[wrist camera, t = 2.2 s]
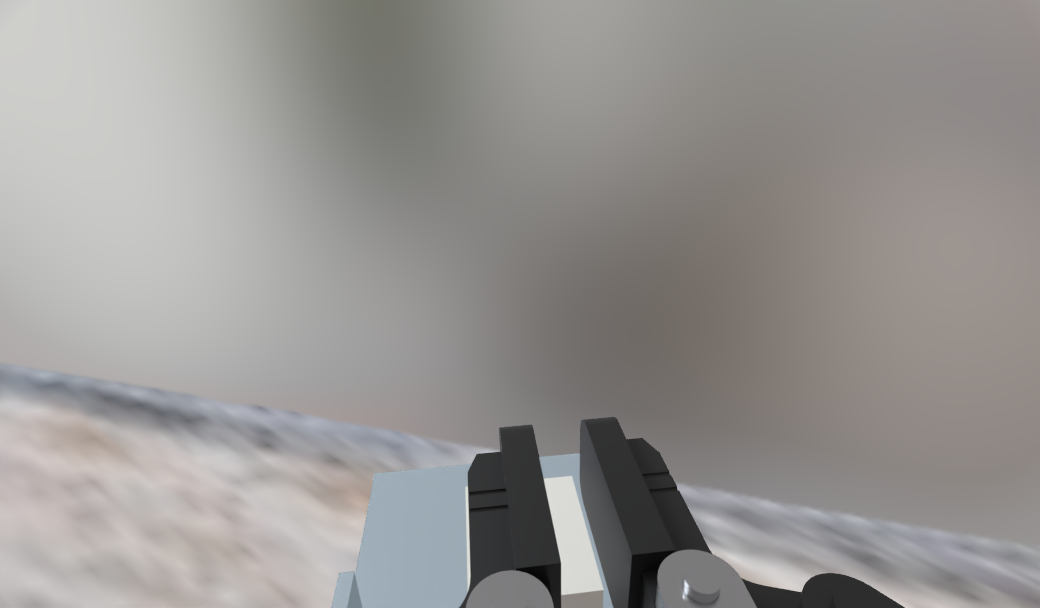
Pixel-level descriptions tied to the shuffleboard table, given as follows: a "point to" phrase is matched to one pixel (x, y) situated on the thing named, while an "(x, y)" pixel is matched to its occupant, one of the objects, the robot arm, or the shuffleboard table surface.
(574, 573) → the cream block
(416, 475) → the trough
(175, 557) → the shuffleboard table surface
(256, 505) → the shuffleboard table surface
